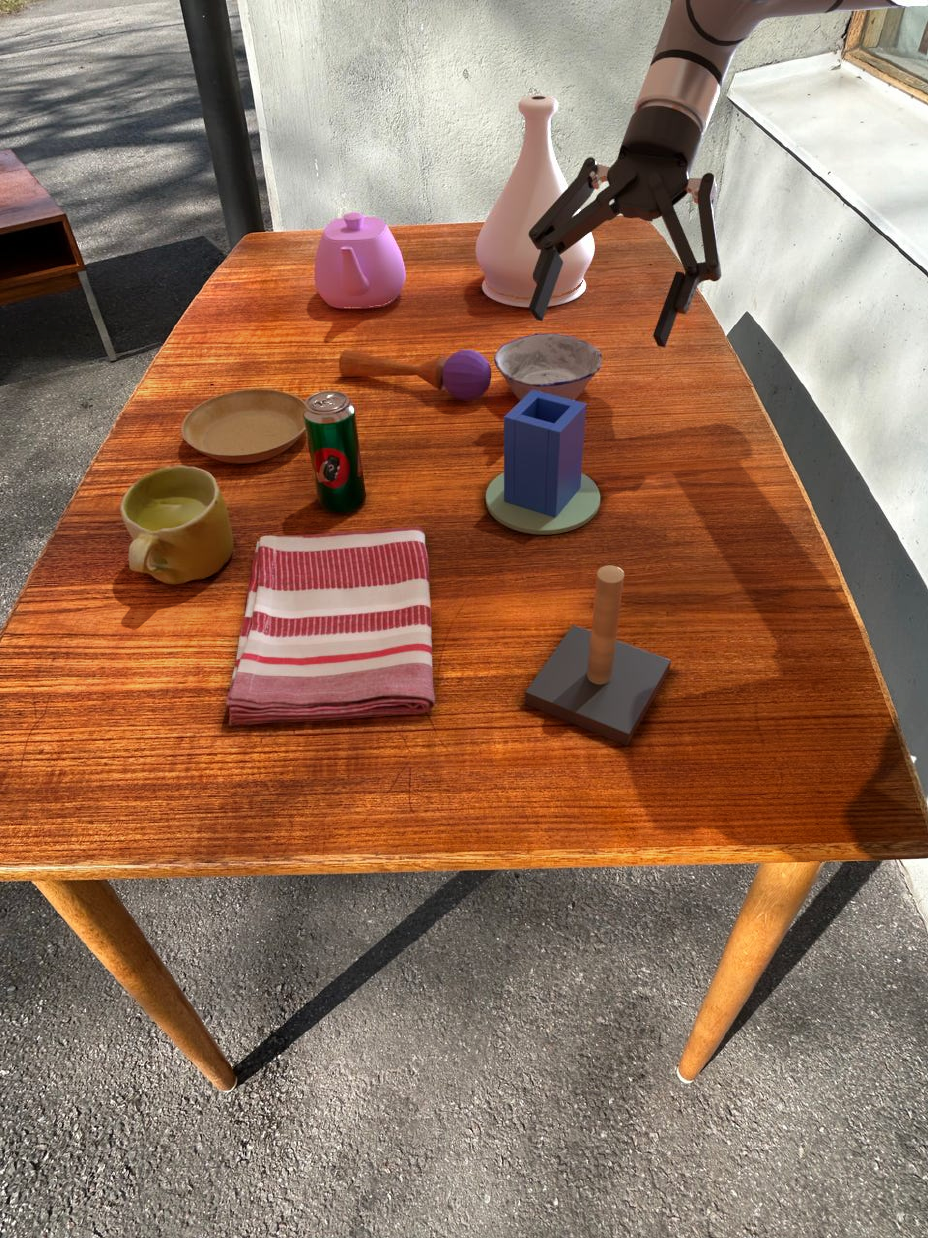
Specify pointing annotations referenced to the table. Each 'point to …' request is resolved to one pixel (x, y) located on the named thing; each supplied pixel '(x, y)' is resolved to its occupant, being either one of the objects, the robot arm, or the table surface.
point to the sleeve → (543, 452)
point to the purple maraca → (428, 371)
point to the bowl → (548, 364)
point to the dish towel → (335, 629)
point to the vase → (529, 218)
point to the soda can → (334, 451)
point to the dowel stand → (599, 671)
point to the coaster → (537, 523)
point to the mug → (177, 525)
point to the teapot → (358, 263)
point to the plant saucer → (245, 425)
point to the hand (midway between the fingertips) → (595, 328)
